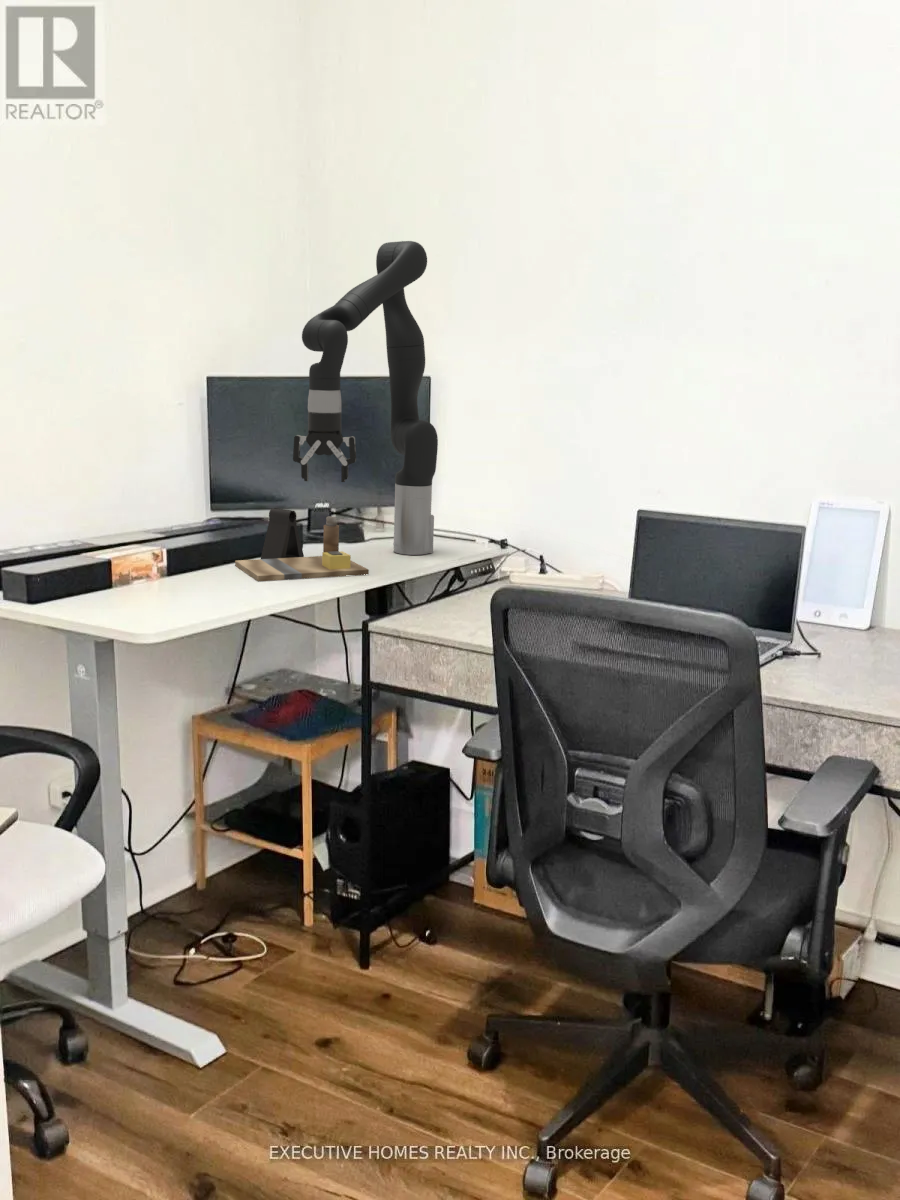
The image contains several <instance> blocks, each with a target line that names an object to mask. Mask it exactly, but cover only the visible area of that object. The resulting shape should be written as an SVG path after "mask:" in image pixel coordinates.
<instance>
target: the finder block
mask: <svg viewBox="0 0 900 1200" xmlns="http://www.w3.org/2000/svg"><path fill="white" fill-rule="evenodd" d="M321 554H322V555H321V556H322V565H323V566H324V567H326V568H328V569H346V568H350V560H351V561H352V558H351V555H350V554H349V553H347V552H345V551H343V550H342V551H339V552H338V551H330V552H321Z"/></svg>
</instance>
